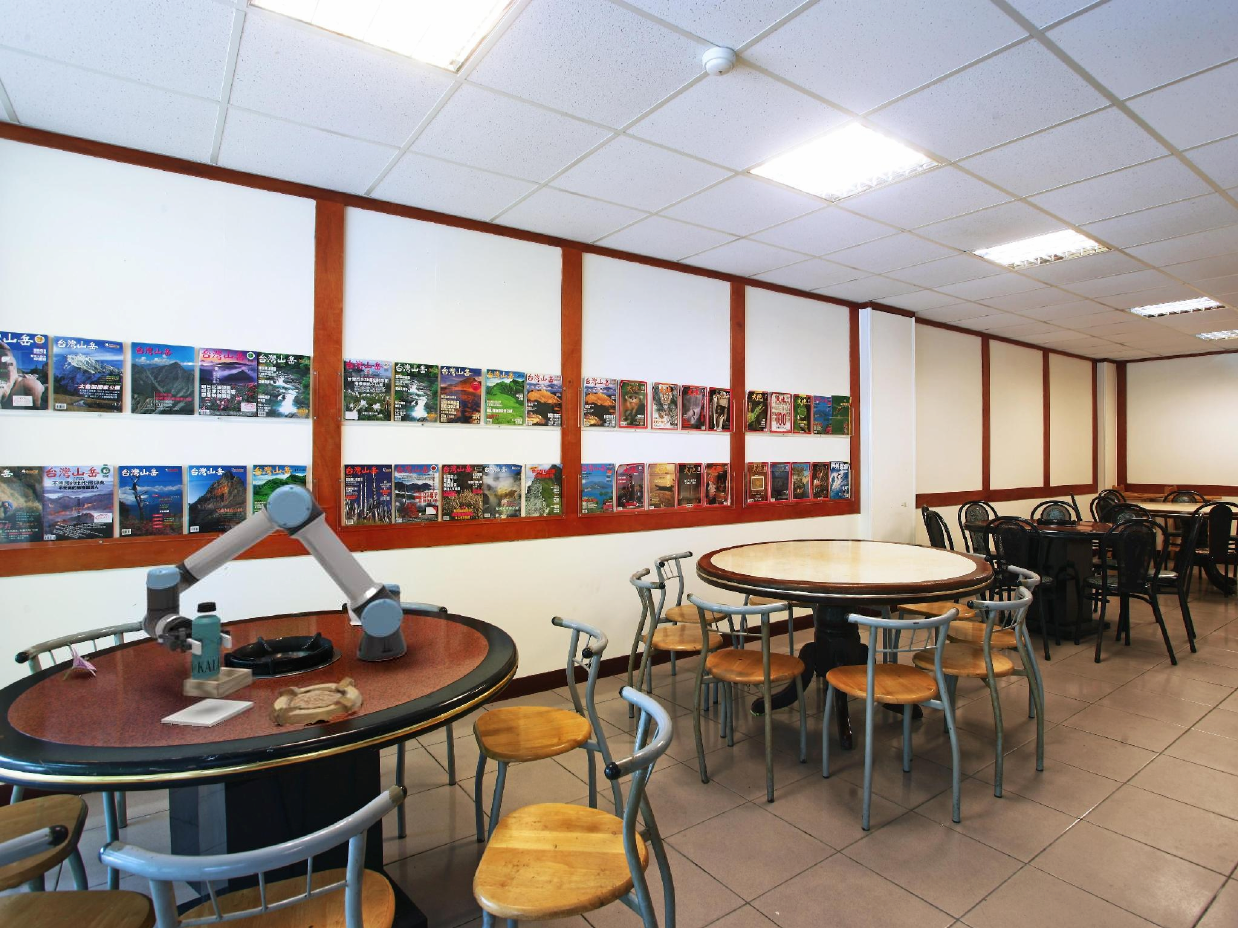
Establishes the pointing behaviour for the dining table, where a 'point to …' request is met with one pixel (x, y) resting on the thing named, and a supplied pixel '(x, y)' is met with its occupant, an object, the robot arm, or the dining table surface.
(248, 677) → the wooden tray
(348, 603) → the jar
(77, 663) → the lily
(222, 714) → the rubber mat
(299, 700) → the ashtray
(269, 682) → the dining table surface
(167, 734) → the dining table surface
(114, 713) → the dining table surface
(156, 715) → the dining table surface
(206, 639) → the beverage bottle
